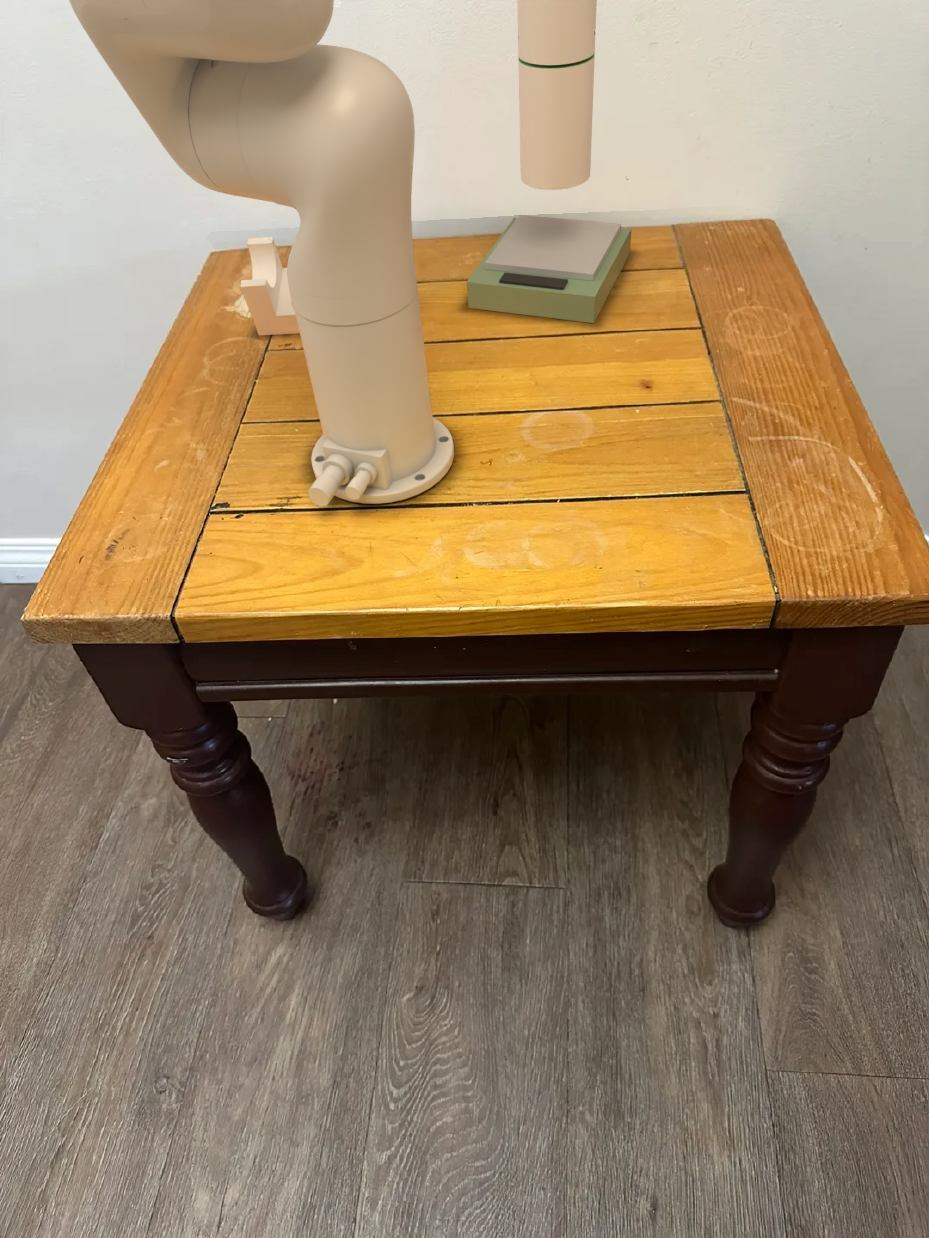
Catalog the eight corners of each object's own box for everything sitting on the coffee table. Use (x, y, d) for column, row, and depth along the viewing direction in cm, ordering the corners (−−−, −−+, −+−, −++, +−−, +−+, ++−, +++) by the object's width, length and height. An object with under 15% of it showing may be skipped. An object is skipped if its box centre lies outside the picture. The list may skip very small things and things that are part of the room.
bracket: (261, 342, 94) (240, 286, 87) (268, 295, 97) (248, 238, 90) (379, 335, 93) (367, 279, 86) (382, 288, 96) (371, 230, 90)
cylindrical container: (590, 161, 91) (602, -154, 73) (590, 189, 86) (602, -140, 68) (522, 163, 92) (517, -147, 74) (518, 191, 87) (511, -134, 69)
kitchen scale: (594, 323, 90) (595, 289, 87) (468, 308, 94) (466, 274, 91) (629, 254, 100) (632, 220, 97) (514, 242, 104) (513, 210, 101)
